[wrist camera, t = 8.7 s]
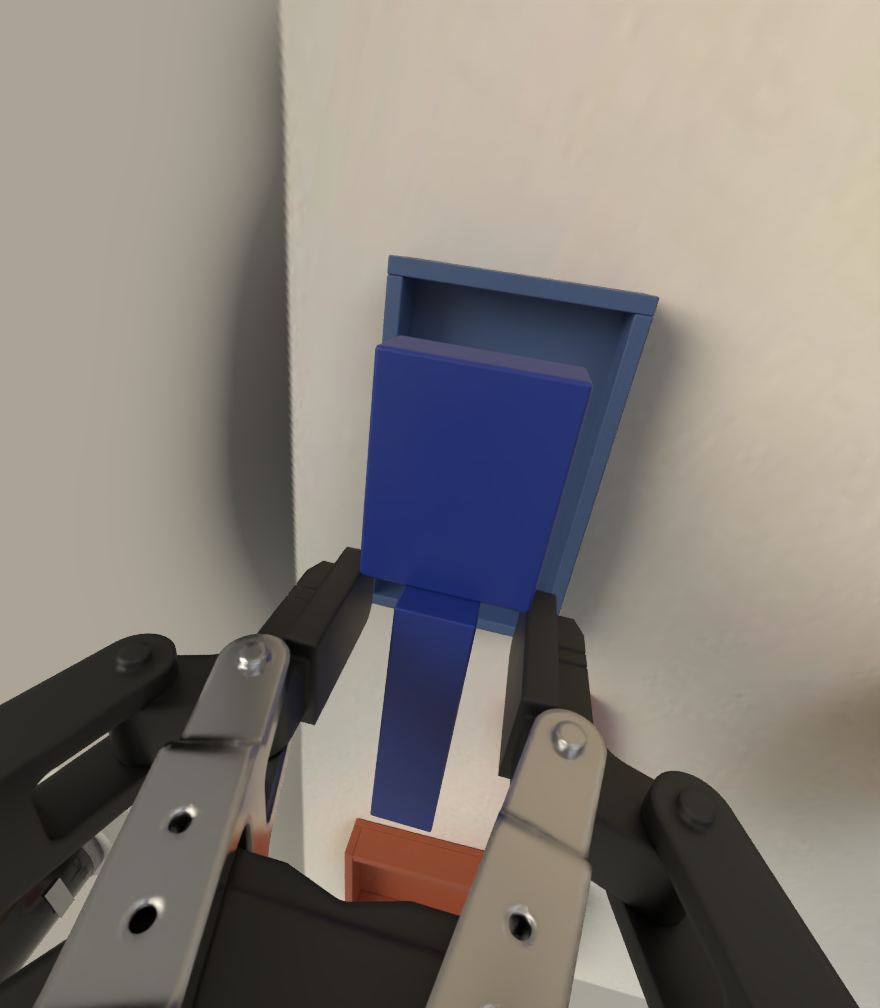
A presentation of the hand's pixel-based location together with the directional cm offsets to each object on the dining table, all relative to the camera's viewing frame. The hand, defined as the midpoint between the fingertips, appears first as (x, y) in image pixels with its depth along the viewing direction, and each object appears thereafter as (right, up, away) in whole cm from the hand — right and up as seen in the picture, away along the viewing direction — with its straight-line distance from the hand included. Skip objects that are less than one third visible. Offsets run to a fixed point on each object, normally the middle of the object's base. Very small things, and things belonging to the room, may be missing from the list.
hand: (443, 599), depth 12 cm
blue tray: (+2, +5, +9) cm, 11 cm away
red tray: (+1, -26, +25) cm, 36 cm away
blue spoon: (0, 0, +1) cm, 1 cm away
